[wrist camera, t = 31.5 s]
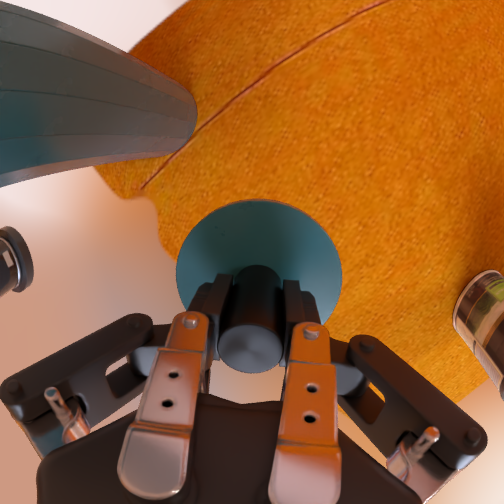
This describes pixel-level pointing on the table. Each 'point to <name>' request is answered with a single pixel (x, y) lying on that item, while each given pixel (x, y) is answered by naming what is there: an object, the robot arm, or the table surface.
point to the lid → (258, 274)
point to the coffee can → (484, 322)
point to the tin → (80, 100)
